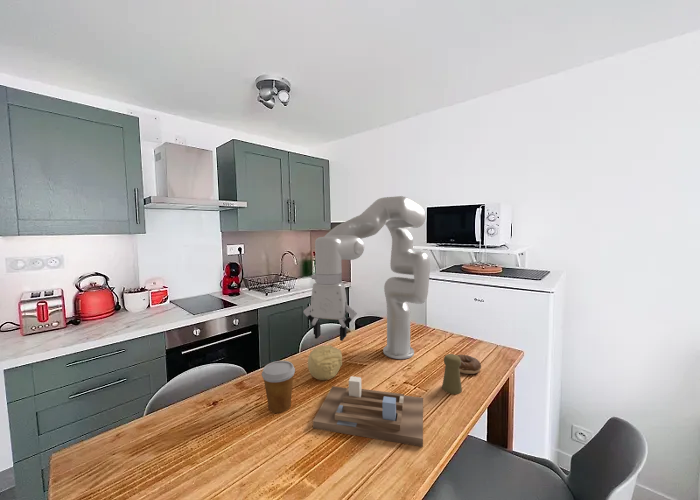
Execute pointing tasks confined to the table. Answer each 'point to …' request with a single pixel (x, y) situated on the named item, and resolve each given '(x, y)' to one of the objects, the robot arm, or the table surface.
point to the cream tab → (355, 386)
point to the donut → (469, 364)
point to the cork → (452, 374)
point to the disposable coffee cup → (278, 385)
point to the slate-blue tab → (389, 408)
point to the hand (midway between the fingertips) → (330, 337)
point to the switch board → (371, 416)
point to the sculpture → (324, 362)
